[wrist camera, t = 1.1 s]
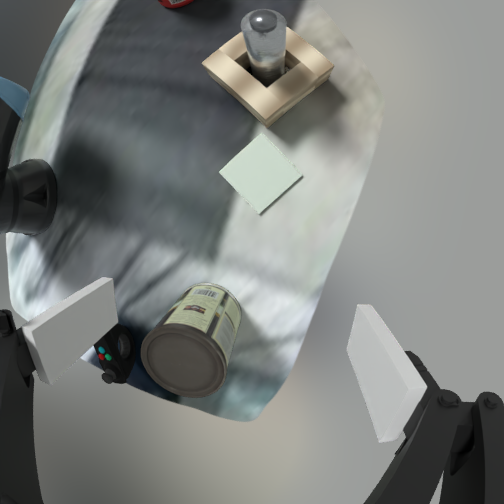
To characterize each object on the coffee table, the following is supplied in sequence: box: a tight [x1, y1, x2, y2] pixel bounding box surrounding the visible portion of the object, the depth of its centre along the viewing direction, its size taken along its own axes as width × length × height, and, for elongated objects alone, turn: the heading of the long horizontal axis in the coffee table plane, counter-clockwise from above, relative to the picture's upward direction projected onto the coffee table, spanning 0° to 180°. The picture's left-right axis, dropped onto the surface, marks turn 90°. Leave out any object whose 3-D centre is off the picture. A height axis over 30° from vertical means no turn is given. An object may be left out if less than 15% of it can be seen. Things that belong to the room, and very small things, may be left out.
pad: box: [219, 133, 302, 214], centre depth 36 cm, size 8×8×1 cm
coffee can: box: [141, 283, 241, 398], centre depth 35 cm, size 10×10×14 cm
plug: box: [241, 9, 287, 88], centre depth 25 cm, size 4×4×15 cm
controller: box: [94, 324, 136, 384], centre depth 39 cm, size 4×12×10 cm, turn 11°
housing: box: [202, 27, 334, 128], centre depth 30 cm, size 12×12×5 cm
